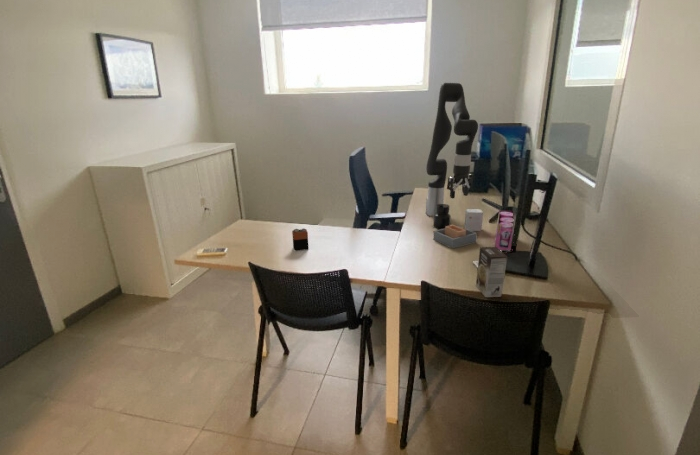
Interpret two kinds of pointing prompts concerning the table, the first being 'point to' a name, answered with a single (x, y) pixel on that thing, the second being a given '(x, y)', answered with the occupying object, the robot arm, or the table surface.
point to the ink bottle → (442, 216)
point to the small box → (473, 219)
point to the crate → (457, 242)
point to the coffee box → (491, 271)
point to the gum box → (504, 230)
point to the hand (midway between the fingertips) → (458, 196)
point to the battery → (300, 239)
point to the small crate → (454, 231)
